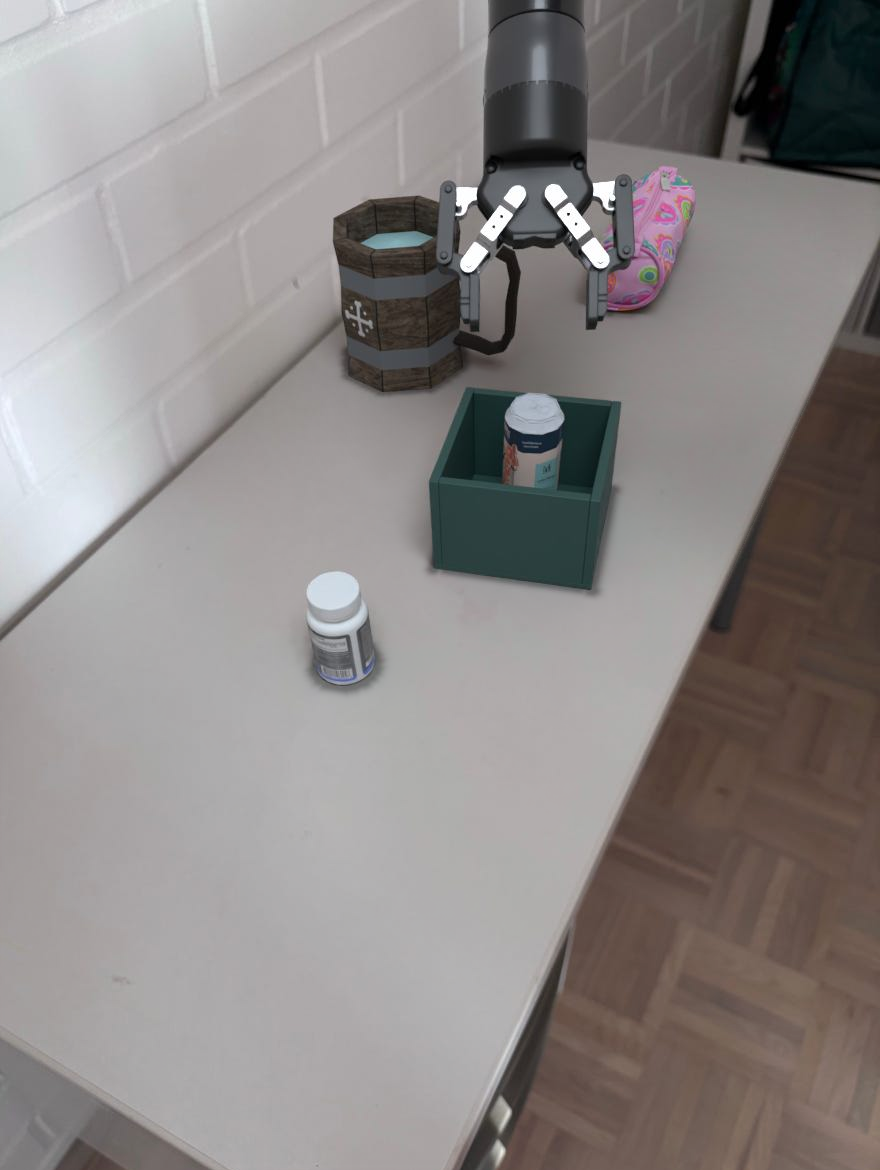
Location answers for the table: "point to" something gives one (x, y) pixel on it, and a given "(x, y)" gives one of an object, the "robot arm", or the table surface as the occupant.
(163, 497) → the table surface
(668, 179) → the pencil case
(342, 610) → the pill bottle
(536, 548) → the bin
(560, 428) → the beer can
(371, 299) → the mug
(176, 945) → the table surface
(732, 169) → the table surface
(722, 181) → the table surface
